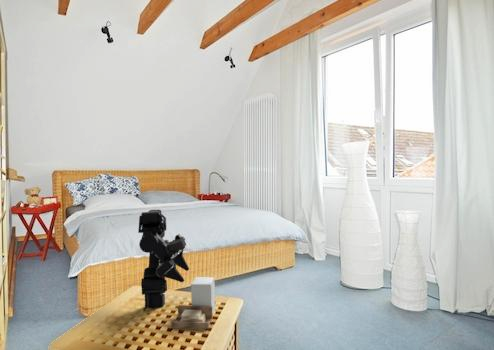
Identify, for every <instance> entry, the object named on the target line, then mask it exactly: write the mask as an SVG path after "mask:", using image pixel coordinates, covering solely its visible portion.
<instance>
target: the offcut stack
mask: <svg viewBox="0 0 494 350" xmlns="http://www.w3.org/2000/svg"><path fill="white" fill-rule="evenodd" d="M205 320H206V317H205V314H204V313H202V310H184V311H183V313H182V315H181V320H180V321H190V322H205Z"/></svg>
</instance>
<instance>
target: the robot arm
mask: <svg viewBox="0 0 494 350" xmlns="http://www.w3.org/2000/svg"><path fill="white" fill-rule="evenodd" d="M137 231H138V234H141V233H142V235H141V239H140V240H139V248H140V251H142V252H144V253H147V254H149V257H148V267H145V268H144V271H143V277H142V278H141V280H140V281H141V282H140V283H141V284H140V286H141V287H140V288H141V295H142V296H143V295H144V307H143V311H144V312H145V311H146V310H147V309H157V308H158V309H159V308H163V307H164V306H165V304H166V297H165V293H166V292H167V291H168V281H167V279H171V280H174V281H176V282H179V283H184V282H185V279H184V278H183V276H182V274H181V273H180V272H179V271H178V269H177V267H179V268H181V269H183V270H184V271H186V272H188V271H189V270H190V267H189V266H188V263H187V262H186V260H185V258H184V249H185V248H186V246H187V242H186V237H184V236H182V235H181V234H180V233H178V234H176V235H175V237H174V239H173V240H171V241H169V240H168V239H165V240H164V239H163V238H164V237H165V233H166V231H167V217H166V216H165V215H164V214H162V210H161V209H150V210H148V211H147V212H143V211H142V212H141V214H140V215H139V219H138V229H137ZM166 278H167V279H166Z"/></svg>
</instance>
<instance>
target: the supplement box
mask: <svg viewBox="0 0 494 350" xmlns="http://www.w3.org/2000/svg"><path fill="white" fill-rule="evenodd" d="M215 285H216V283H215V277H214V276H213V277H212V276H209V277H208V276H195V278H194V279H193V281H192V282H191V283H190V290H191V293H190V294H191V297H190V298H191V306H212V316H213V314H214V312H215V309H216V294H215V293H216V291H215V290H216V286H215Z"/></svg>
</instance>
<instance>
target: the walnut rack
mask: <svg viewBox="0 0 494 350" xmlns="http://www.w3.org/2000/svg"><path fill="white" fill-rule="evenodd" d="M184 310H202V313H204V314H205V317H206V320H205V322H190V321H180V320H181V315H182V313H183V311H184ZM212 319H213V315H212V306H192V305H183V304H182V305H180V304H179V305H178V306H177V319H176V320H172V322H171V329H183V330H184V329H186V330H208V329H209V328H210V325H211V323H212Z"/></svg>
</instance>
